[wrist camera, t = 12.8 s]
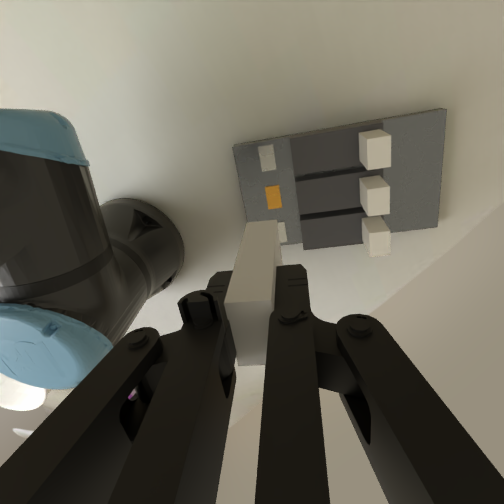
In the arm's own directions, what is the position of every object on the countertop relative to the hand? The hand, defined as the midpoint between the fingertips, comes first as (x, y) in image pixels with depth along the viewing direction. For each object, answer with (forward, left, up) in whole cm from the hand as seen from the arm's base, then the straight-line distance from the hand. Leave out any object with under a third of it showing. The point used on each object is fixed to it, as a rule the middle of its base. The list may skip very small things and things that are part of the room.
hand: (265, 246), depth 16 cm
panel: (+6, -6, -27) cm, 29 cm away
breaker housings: (+6, -6, -26) cm, 27 cm away
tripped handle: (+10, -6, -24) cm, 26 cm away
